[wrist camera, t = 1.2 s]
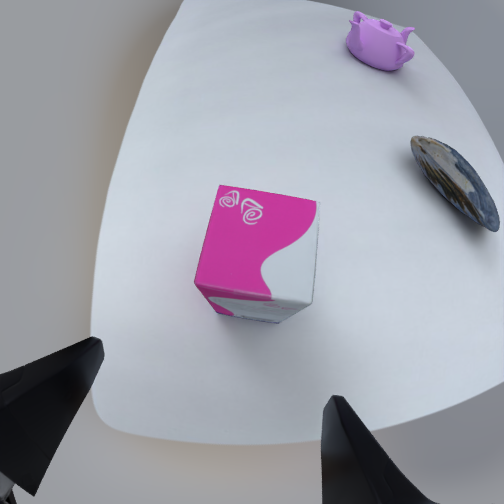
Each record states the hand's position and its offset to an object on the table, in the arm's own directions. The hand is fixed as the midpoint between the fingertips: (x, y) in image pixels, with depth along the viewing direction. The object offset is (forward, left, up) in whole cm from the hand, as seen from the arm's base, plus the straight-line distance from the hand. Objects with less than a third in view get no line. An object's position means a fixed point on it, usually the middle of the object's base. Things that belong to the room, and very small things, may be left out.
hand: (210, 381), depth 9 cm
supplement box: (+6, +3, -14) cm, 15 cm away
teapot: (+51, +17, -14) cm, 55 cm away
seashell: (+32, -7, -14) cm, 35 cm away
